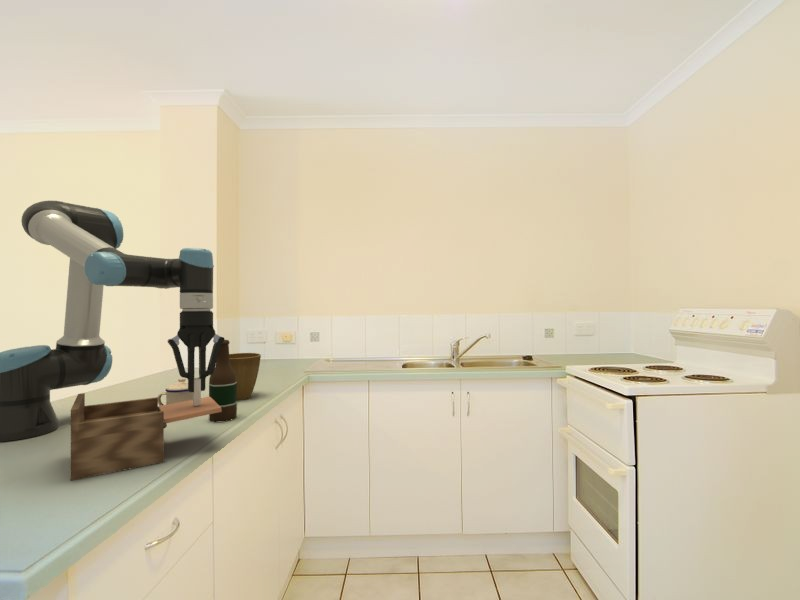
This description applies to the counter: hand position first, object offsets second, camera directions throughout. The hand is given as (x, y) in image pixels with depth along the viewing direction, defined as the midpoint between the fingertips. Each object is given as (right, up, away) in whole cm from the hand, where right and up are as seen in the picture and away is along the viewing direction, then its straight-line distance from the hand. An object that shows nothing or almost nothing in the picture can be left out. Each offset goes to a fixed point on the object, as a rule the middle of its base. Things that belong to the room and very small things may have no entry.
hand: (196, 404), depth 101 cm
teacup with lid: (-20, -11, +27) cm, 35 cm away
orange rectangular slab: (-7, -2, -4) cm, 8 cm away
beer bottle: (-3, -10, +22) cm, 25 cm away
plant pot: (-9, -11, +50) cm, 52 cm away
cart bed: (-13, -10, -9) cm, 19 cm away
